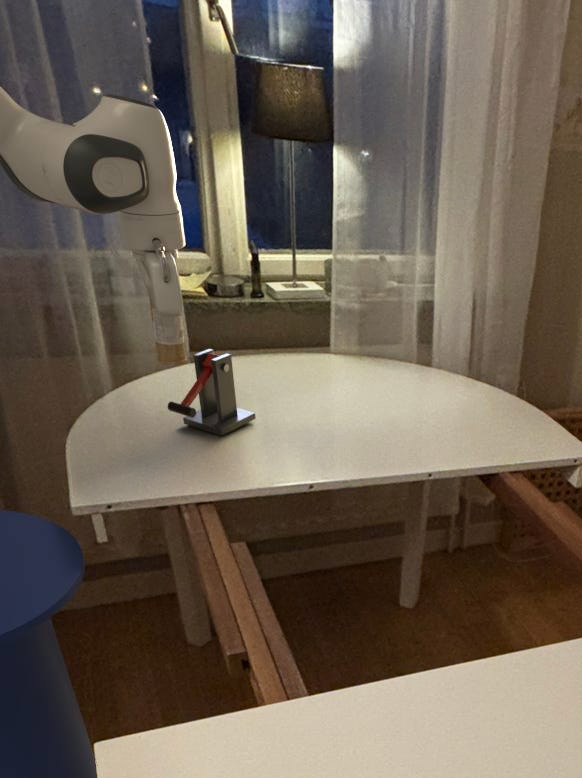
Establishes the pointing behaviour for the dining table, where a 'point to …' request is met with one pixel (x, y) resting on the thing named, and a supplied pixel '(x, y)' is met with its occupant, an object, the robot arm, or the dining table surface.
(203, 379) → the lever
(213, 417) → the bracket
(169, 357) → the sprinkles bottle
